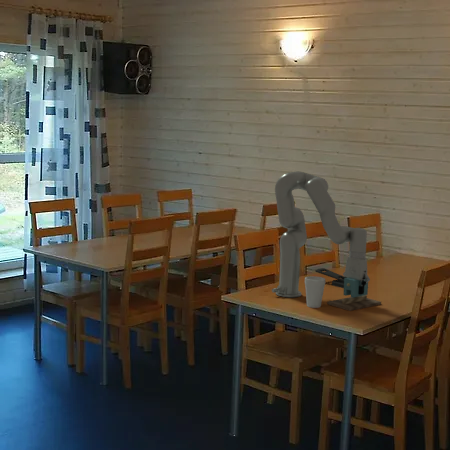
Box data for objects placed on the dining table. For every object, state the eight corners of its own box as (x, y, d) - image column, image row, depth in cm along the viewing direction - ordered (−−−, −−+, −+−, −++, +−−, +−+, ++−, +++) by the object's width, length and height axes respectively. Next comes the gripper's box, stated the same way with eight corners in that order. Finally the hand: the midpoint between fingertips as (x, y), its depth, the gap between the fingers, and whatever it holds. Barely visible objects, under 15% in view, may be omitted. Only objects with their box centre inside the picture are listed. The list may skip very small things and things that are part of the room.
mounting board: (349, 310, 323) (350, 304, 323) (327, 304, 334) (327, 297, 334) (381, 304, 337) (381, 297, 336) (358, 298, 348) (358, 291, 347)
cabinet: (352, 297, 329) (353, 280, 328) (342, 295, 333) (343, 278, 332) (367, 294, 336) (368, 278, 334) (357, 292, 340) (358, 275, 339)
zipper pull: (323, 267, 386) (362, 275, 369) (322, 279, 387) (362, 288, 370) (313, 269, 379) (353, 277, 362) (312, 281, 380) (352, 290, 363)
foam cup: (327, 306, 330) (329, 278, 328) (316, 309, 323) (317, 281, 321) (310, 302, 336) (312, 275, 334) (299, 305, 329) (300, 278, 328)
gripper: (338, 252, 336) (336, 290, 339) (366, 258, 323) (364, 297, 326) (348, 251, 341) (347, 288, 343) (377, 257, 328) (375, 295, 330)
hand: (355, 292), depth 334 cm, fingers closed on cabinet, 6 cm apart
